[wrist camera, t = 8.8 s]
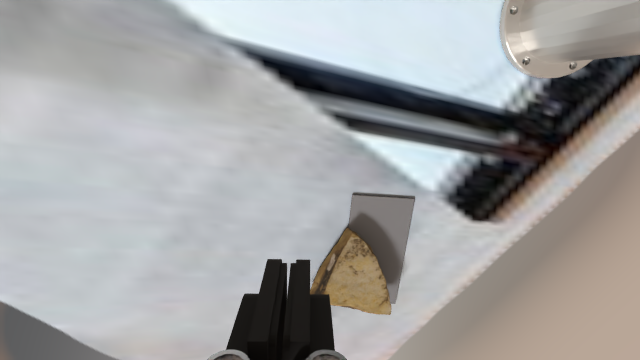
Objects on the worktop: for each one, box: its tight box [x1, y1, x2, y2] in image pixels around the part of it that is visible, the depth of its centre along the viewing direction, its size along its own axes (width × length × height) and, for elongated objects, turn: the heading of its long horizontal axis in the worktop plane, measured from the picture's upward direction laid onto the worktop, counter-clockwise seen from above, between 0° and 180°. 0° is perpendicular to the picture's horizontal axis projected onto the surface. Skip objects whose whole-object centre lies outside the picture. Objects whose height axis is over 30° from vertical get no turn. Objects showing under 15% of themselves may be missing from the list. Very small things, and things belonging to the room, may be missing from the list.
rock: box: [310, 228, 391, 315], centre depth 40 cm, size 11×9×10 cm
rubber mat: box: [348, 194, 415, 304], centre depth 40 cm, size 8×16×1 cm, turn 175°
